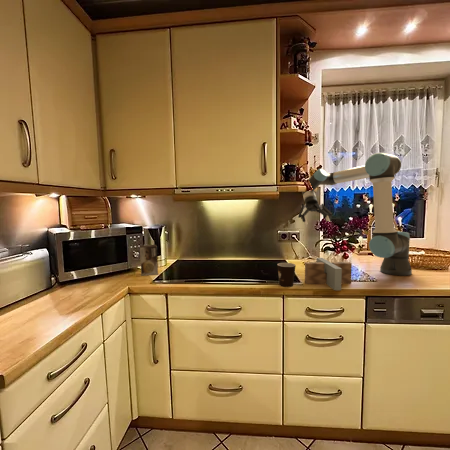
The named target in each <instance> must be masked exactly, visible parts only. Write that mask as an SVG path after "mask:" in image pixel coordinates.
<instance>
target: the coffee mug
mask: <svg viewBox="0 0 450 450" xmlns="http://www.w3.org/2000/svg"><path fill="white" fill-rule="evenodd" d="M295 271H296V264H295V263H291V262H279V263H277V273H278V283H279V286H280V287H284V288H291V287H294V280H295V273H296V272H295Z"/></svg>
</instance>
